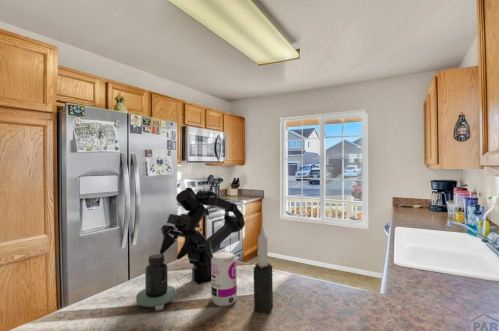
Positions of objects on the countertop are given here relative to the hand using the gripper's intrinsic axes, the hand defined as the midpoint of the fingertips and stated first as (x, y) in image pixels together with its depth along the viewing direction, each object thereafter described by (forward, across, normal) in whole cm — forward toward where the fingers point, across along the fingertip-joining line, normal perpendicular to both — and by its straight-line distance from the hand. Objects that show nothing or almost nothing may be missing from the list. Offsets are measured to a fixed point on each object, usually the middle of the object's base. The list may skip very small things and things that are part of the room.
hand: (168, 256), depth 90 cm
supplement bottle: (+11, 0, +4) cm, 12 cm away
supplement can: (+4, +17, +16) cm, 24 cm away
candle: (+1, +31, +18) cm, 36 cm away
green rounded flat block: (+13, 0, +6) cm, 14 cm away
